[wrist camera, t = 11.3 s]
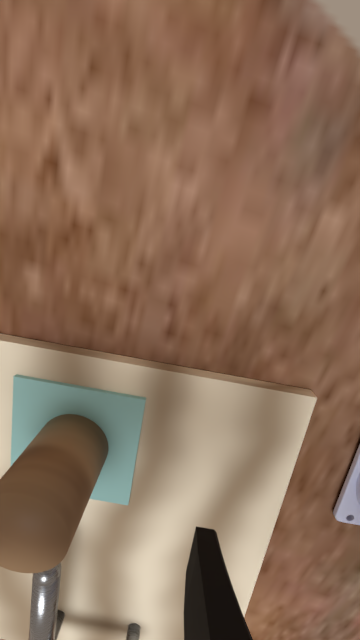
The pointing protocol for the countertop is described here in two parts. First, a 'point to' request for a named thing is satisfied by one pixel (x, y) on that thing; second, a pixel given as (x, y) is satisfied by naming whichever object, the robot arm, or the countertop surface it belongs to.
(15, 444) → the pad
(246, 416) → the birch board
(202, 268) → the countertop surface
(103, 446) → the walnut cylinder
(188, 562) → the robot arm
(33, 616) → the bent wire
